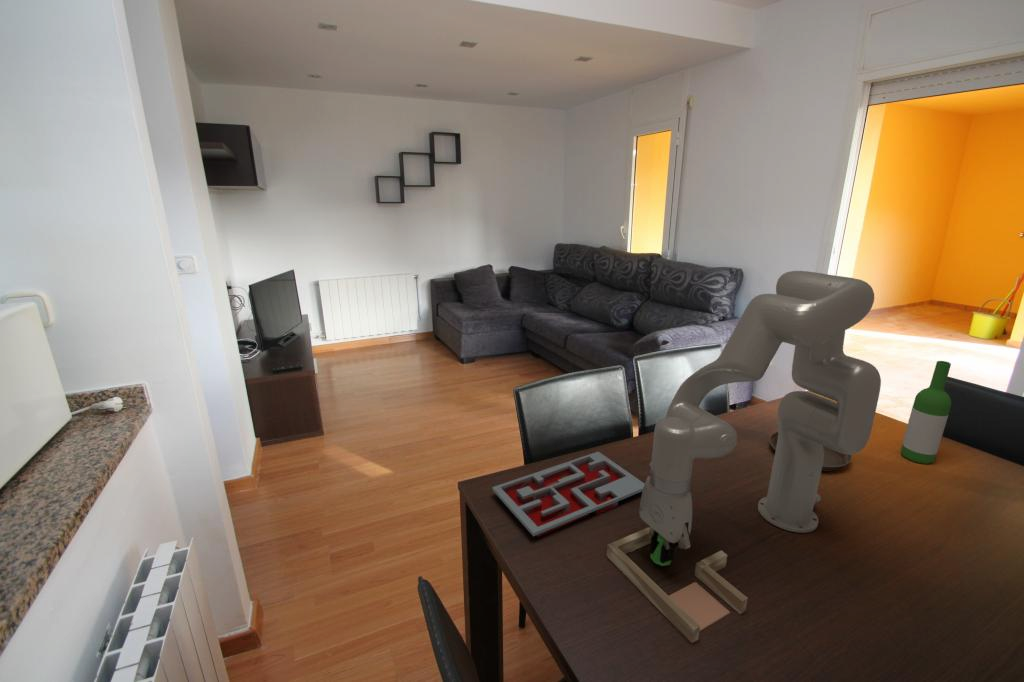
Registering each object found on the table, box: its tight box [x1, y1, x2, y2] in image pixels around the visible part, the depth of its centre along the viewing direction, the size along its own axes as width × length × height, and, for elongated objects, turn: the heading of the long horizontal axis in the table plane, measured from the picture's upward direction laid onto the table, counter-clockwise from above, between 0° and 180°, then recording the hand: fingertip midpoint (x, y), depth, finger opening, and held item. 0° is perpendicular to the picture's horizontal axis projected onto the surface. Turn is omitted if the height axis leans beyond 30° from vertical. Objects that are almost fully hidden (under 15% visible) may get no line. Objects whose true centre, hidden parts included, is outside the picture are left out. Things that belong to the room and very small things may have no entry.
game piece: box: [650, 534, 672, 567], centre depth 95 cm, size 4×4×6 cm
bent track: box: [606, 526, 749, 644], centre depth 93 cm, size 20×23×3 cm
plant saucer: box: [768, 431, 853, 472], centre depth 137 cm, size 21×21×3 cm
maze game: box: [491, 451, 645, 538], centre depth 119 cm, size 35×20×3 cm, turn 120°
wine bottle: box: [900, 360, 952, 465], centre depth 131 cm, size 8×8×30 cm
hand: (661, 555), depth 96 cm, fingers closed on game piece, 2 cm apart
